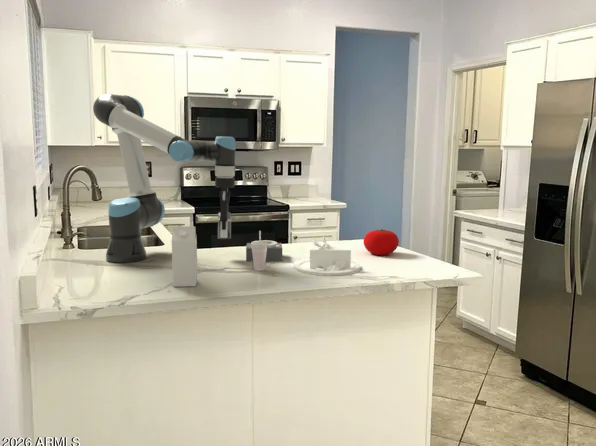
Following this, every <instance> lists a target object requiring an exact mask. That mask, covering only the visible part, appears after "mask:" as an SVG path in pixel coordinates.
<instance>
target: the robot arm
mask: <svg viewBox="0 0 596 446" xmlns="http://www.w3.org/2000/svg"><path fill="white" fill-rule="evenodd" d="M143 107H144V106H143V105H142V103H141V102H140V101H139V100H138V99H137V98H135V97H133V96H130V95H127V94H126V95H122V94H121V95H120V94H113V93H104V94H102V95H100V96H98V97H97V98H96V99H95V100H94V103H93V108H92V109H93V114H94V116H95V118H96V119H97V120H98V121H99V122H100V123H102V124H104V125H106V126H107V127H110V128H111V131H112V132H113V133H114V134H116V135H117V139H118V140H117V141H118V144H119V150H120V154H121V157H122V162H123V167H124V173H125V176H126V180H127V185H128V191H129V194H128V195H127V196H126V197H123V198H122V197H121V198H116V199H113V200H111V201H110V202H109V204H108V212H107V214H108V223H109V224H108V225H109V226H108V227H109V243H108V247H107V249H106V253H105V259H106V261H107V262H110V263H132V262H133V263H134V262H139V261H143V260H145V259H146V258H147V251H146V249H145V245H144V243H143V239H142V231H141V230H142V229H145V228H151V227H153V226H156V225H158V224H160V222H162V220H163V218H164V217H165V214H166V213H165V211H166V210H165V204H164V203H163V201H162V200H160V198H158V197H157V192H156V191H155V190H153V189H152V186H151V181H150V177H149V174H148V173H149V172H148V169H147V168H148V167H147V164H146V163H147V162H146V159H145V154H144V153H145V152H144V149H143V144H142V142H145V143H147V144H149V145H151V147H155V148H156V149H158V150H160V151H162V152H164V153H166V154H168V155H169V156H170V158H171V159H172V160H173V161H175V162H180V163H186V162H196V161H199V162H200V161H205V162H206V161H209V162H210V161H211V162H215V163H214V164H215V165H214V168H215V169H214V175H215V178H214V180H215V181H214V182H215V183H214V186H215V187H216V188H219V189H220V188H221V191H219V192H218V193H219V203H220V219H219V221H220V238H227V231H228V221H227V220H228V219H227V212H229V203H230V197H231V191H229V188H230V189H231V188H235V186H236V179H235V175H236V172H237V170H238V169H237V168H236V138H235V137H233V136H221V135H220V136H216V137H215V140H214V141H213V140H212V141H211V140H209V141H208V140H198V139H195V140H187V139H185V138H184V137H183V138H182V137H180V136H179V135H177V134H175V133H173V132H172V131H169V130H167V129H165V128H163V127H162V126H159V125H158V124H155V123H153V122H151V121H149V120H147V119H146V118H144V116H145V111H144V108H143ZM229 213H230V212H229Z"/></svg>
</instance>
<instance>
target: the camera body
mask: <svg viewBox="0 0 596 446" xmlns="http://www.w3.org/2000/svg"><path fill="white" fill-rule="evenodd" d="M250 242H251V243H252V242H259V240H254V241H250ZM250 242H247V243H246V247H245V260H246V262H253V255H252V247H251V243H250ZM261 242H267V243H268V247H267V254H266V262H283V245H282V244H283V243H282V242H277V241H275V240H267V239H265V240H262V239H261Z"/></svg>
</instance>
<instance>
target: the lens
mask: <svg viewBox="0 0 596 446" xmlns="http://www.w3.org/2000/svg"><path fill="white" fill-rule="evenodd" d="M220 212H221V211H220ZM220 212H218V213H217V239H218V240H231V239H232V213H231V212H227V219H228V220H227V221H228V231H227V238H220V221H219V219H220Z"/></svg>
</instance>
